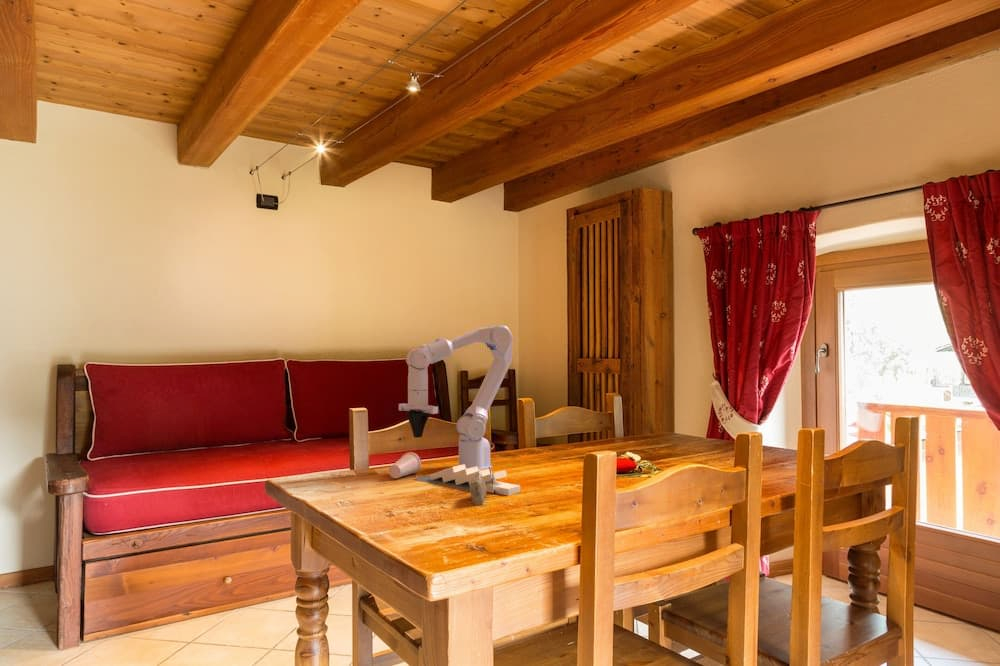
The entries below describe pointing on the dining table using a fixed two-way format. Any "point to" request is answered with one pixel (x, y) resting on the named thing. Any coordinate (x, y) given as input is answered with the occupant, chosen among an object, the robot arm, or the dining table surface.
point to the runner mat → (440, 482)
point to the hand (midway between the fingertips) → (417, 437)
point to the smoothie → (405, 465)
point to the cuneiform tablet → (479, 489)
